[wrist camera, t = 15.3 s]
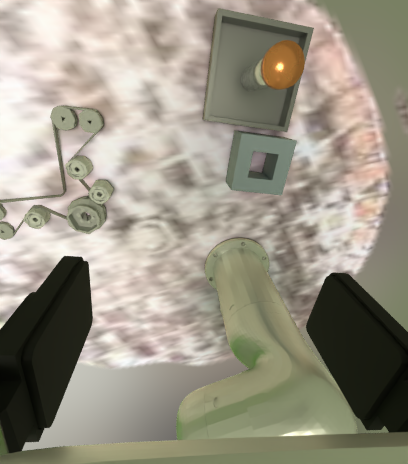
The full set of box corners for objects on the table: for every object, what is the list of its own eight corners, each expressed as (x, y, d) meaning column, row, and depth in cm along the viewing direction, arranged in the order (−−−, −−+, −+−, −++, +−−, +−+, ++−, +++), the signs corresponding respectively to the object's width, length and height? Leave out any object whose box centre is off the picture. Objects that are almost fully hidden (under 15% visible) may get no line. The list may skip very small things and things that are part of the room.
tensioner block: (271, 186, 43) (281, 195, 39) (225, 181, 42) (231, 190, 38) (283, 137, 40) (296, 140, 35) (234, 130, 39) (241, 133, 34)
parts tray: (279, 130, 39) (287, 131, 37) (202, 119, 38) (204, 120, 35) (303, 34, 34) (313, 28, 31) (214, 16, 32) (218, 8, 30)
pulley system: (157, 164, 41) (74, 86, 34) (155, 172, 37) (60, 86, 30) (62, 264, 49) (-22, 215, 42) (51, 280, 45) (-42, 229, 38)
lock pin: (262, 96, 36) (297, 91, 26) (235, 92, 36) (260, 85, 25) (268, 64, 35) (310, 44, 24) (240, 59, 34) (270, 36, 23)
